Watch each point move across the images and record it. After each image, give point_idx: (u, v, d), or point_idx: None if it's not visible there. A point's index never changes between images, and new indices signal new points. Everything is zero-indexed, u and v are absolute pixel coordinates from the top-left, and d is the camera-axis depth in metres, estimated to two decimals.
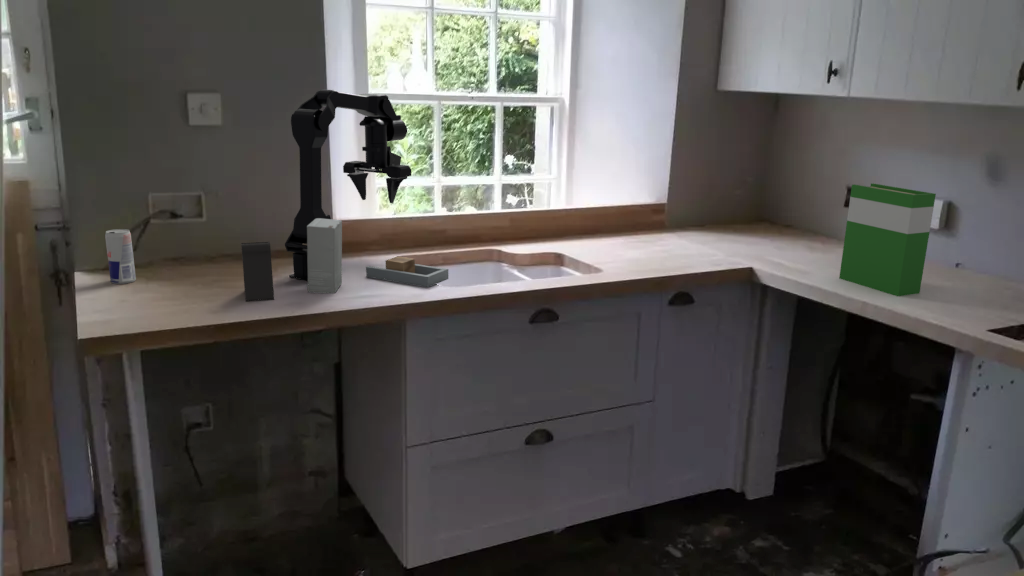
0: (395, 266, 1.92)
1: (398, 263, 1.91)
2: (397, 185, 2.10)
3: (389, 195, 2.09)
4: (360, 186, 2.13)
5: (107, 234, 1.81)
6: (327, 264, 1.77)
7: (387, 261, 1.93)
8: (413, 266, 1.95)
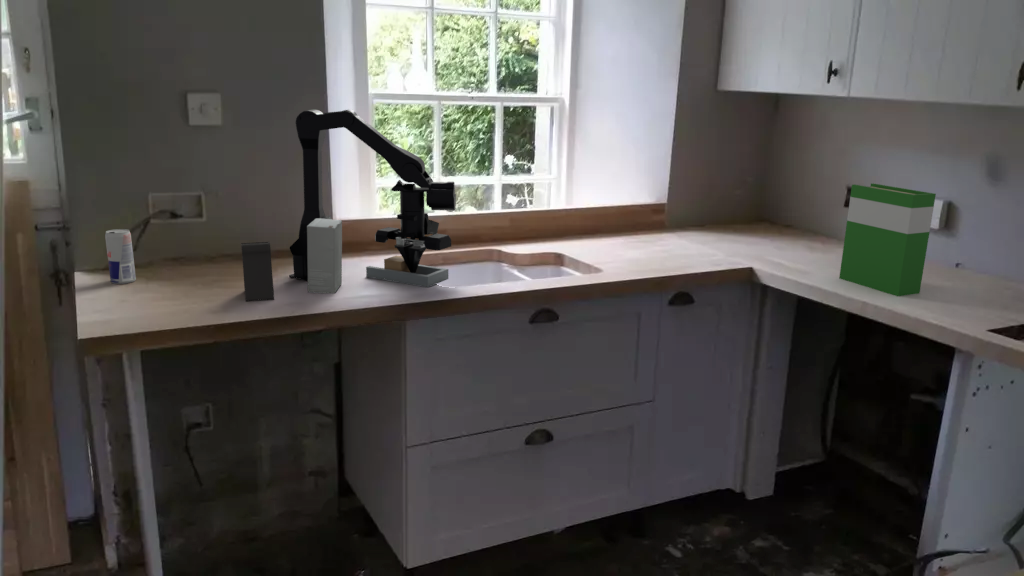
0: (393, 265, 1.92)
1: (396, 262, 1.91)
2: (420, 254, 1.91)
3: (411, 265, 1.91)
4: (409, 258, 1.91)
5: (107, 234, 1.81)
6: (327, 264, 1.77)
7: (385, 260, 1.93)
8: None
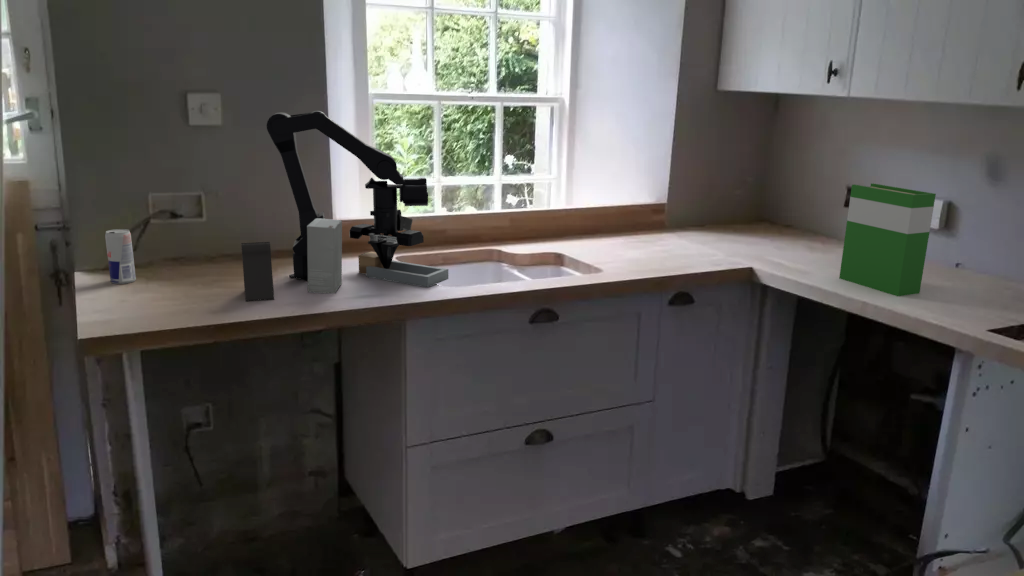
0: (367, 260, 1.96)
1: (370, 258, 1.95)
2: (393, 250, 1.95)
3: (385, 261, 1.94)
4: (382, 254, 1.94)
5: (107, 234, 1.81)
6: (327, 264, 1.77)
7: (359, 256, 1.96)
8: None
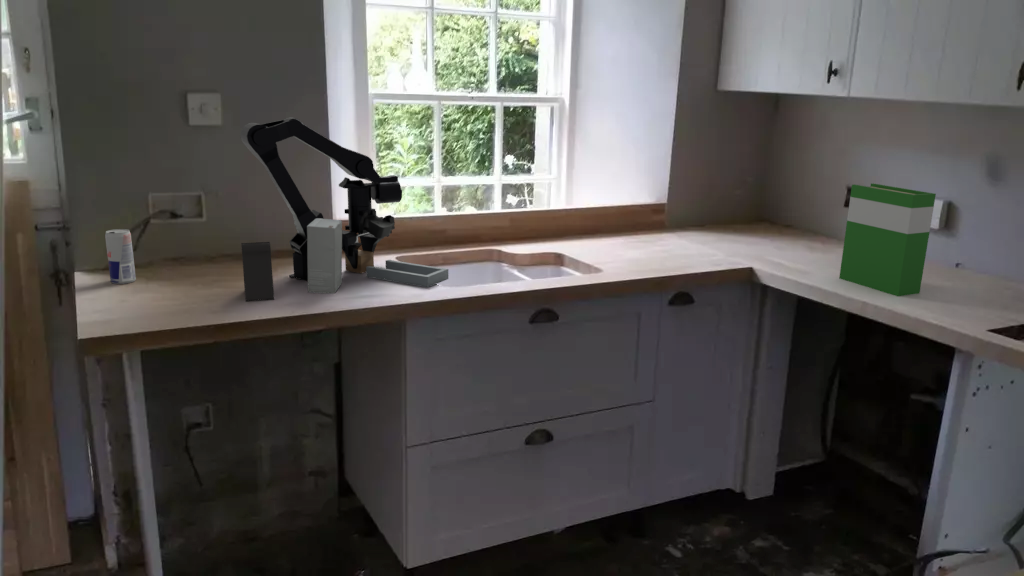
0: None
1: None
2: (353, 251, 1.95)
3: None
4: (364, 249, 2.02)
5: (107, 234, 1.81)
6: (327, 264, 1.77)
7: None
8: (372, 259, 2.00)
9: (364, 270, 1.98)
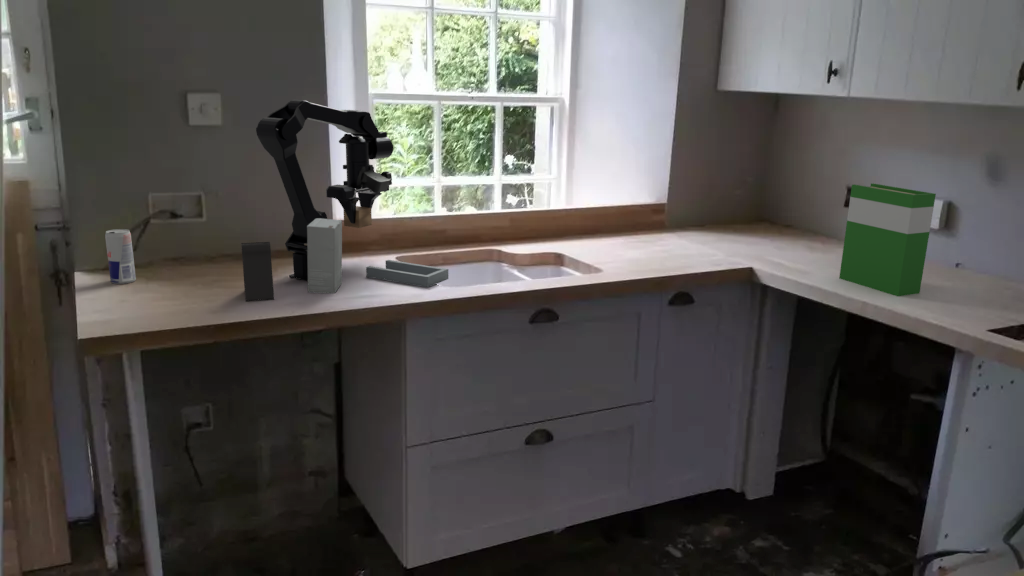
0: None
1: None
2: (351, 206, 1.99)
3: None
4: (362, 205, 2.07)
5: (107, 234, 1.81)
6: (327, 264, 1.77)
7: None
8: (370, 215, 2.05)
9: (362, 225, 2.03)
